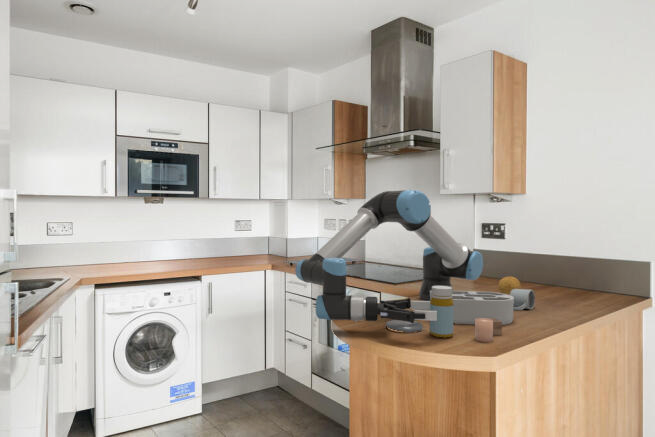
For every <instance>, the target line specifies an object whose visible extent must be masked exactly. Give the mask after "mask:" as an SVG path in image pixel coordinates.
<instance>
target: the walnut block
mask: <svg viewBox="0 0 655 437" xmlns="http://www.w3.org/2000/svg"><path fill="white" fill-rule="evenodd" d="M488 319H492V320H493V337H494V336H502V335H503V328H502V327H503V325H502V321H500V320H498V319H496V318H488Z"/></svg>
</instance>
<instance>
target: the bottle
mask: <svg viewBox="0 0 655 437" xmlns="http://www.w3.org/2000/svg"><path fill="white" fill-rule="evenodd" d="M452 289H453V286H452V287H449V286H432V298H431V301H430V310H429V311H437V321H429V333H430V335H431V336H432V335H433V336H432V337H434V336H436V337H435V338H438V337H444V338H443V339H447V338H446V337H450V338H452V336H453V335H454V324H453V316H454V304H453V300H452Z"/></svg>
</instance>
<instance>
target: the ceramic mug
mask: <svg viewBox="0 0 655 437" xmlns="http://www.w3.org/2000/svg"><path fill="white" fill-rule="evenodd" d="M509 295H511V296H513V297H514V304H513V311H522V310H524V309H525V310H533V309H534V307H535V304H536V294H535V291H534V290H533V289H522V288H521V289H513V290H511V291H510V293H509Z"/></svg>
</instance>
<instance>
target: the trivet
mask: <svg viewBox="0 0 655 437" xmlns="http://www.w3.org/2000/svg"><path fill="white" fill-rule="evenodd" d="M386 326H387V327H388V328H390V329H393V330H397V331H403V332H415V331H420V330H422V329H423V330H424V324H422V323H421V322H419V321H417V320H414V323H411V322H407V321H401V320H394V319H391V320H388V321H386V322H385V327H386ZM423 330H422V331H423ZM420 332H421V331H420Z"/></svg>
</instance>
